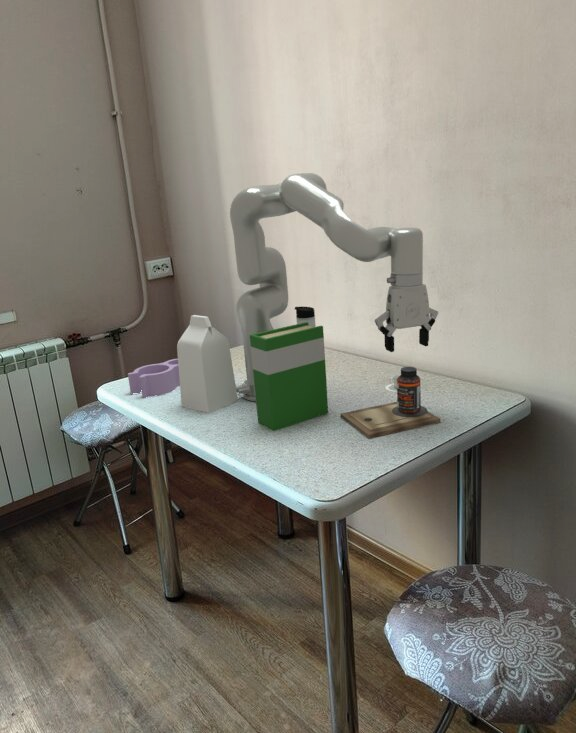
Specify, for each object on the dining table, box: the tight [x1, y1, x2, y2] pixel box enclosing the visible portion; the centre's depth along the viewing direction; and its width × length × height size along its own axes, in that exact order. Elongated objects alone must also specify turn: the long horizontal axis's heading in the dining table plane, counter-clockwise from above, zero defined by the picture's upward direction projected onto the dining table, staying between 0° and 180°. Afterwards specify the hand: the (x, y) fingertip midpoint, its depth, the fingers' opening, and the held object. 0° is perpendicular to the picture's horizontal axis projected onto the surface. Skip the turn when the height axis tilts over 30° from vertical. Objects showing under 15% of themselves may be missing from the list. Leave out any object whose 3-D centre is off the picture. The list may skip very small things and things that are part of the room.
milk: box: [176, 314, 239, 414], centre depth 176 cm, size 12×12×26 cm
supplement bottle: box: [396, 366, 422, 414], centre depth 157 cm, size 6×6×11 cm
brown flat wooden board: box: [340, 401, 442, 439], centre depth 157 cm, size 20×16×1 cm
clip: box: [127, 358, 180, 399], centre depth 197 cm, size 20×12×7 cm, turn 137°
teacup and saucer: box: [384, 373, 401, 393], centre depth 180 cm, size 9×8×4 cm
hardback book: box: [250, 322, 329, 432], centre depth 160 cm, size 18×7×24 cm, turn 124°
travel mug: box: [294, 306, 317, 327], centre depth 207 cm, size 6×7×20 cm
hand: (406, 347), depth 154 cm, fingers open, 9 cm apart
